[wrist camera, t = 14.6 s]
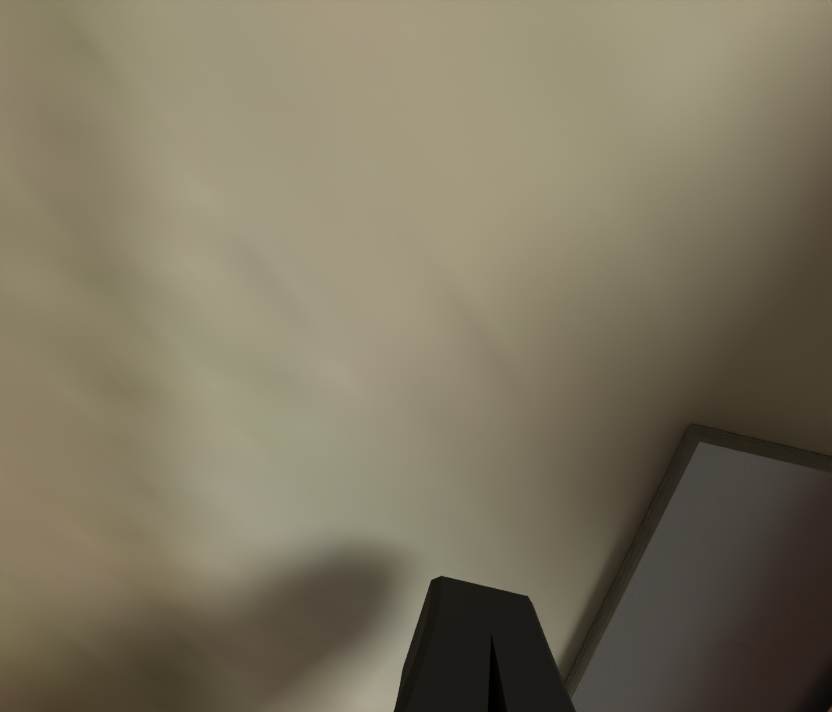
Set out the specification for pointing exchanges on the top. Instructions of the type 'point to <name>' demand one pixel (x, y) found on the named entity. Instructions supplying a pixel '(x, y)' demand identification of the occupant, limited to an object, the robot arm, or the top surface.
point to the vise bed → (720, 589)
